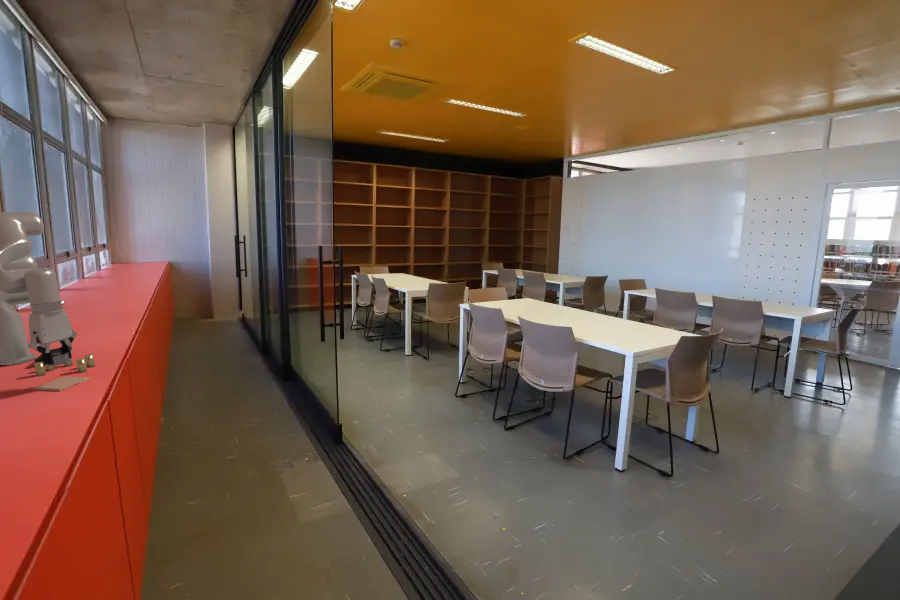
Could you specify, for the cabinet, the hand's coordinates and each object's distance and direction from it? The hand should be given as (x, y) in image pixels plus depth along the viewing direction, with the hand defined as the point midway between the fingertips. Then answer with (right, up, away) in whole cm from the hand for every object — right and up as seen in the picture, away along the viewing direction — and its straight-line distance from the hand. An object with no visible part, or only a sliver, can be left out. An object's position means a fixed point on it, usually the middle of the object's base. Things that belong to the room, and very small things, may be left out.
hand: (58, 360), depth 147 cm
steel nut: (0, -1, 0) cm, 1 cm away
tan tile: (0, -8, +2) cm, 8 cm away
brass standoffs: (-11, -6, +16) cm, 20 cm away
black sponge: (-26, -4, +29) cm, 39 cm away
